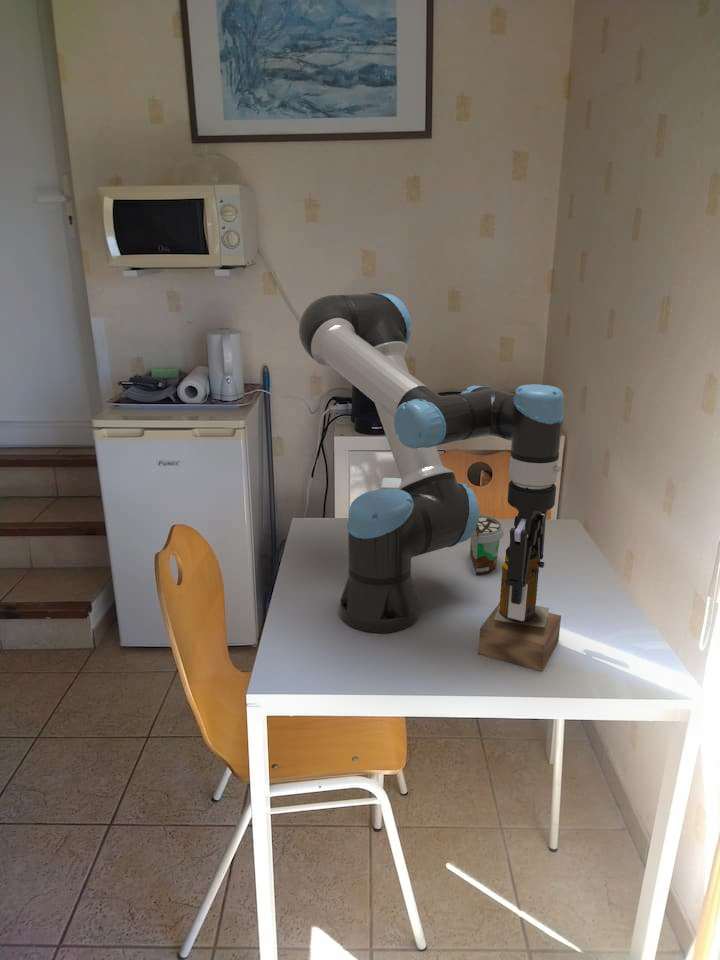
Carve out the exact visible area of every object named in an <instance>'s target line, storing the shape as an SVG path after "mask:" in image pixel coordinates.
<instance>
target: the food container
mask: <svg viewBox="0 0 720 960" xmlns="http://www.w3.org/2000/svg"><path fill="white" fill-rule="evenodd" d="M503 537H504V528H503V525H502V523H501V521H499V519H497V518H495V517H493V516H489V515H485V514H480V513H479V521H478V523H477V527H476V530H475V532H474V533H473V535H472V536H471V537H470V547H469V549H470V550H469V554H470V555H469V558H470V561H471V564H472V568H473V572H474V575H475V576H482V575H488V574H491V573H493V572H494V571H495V570H496V568H497V561H498V556H499V555H498V554H499V547H500V540H501V539H502V538H503Z"/></svg>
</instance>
